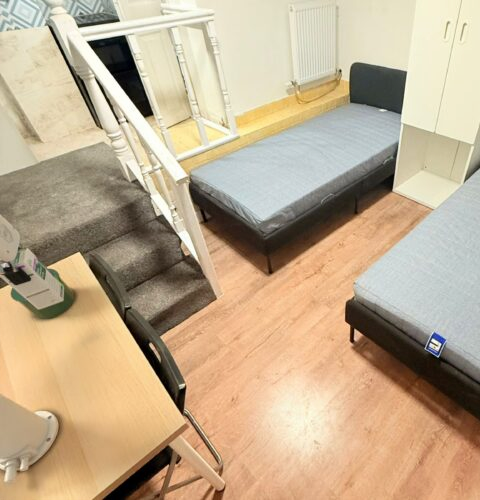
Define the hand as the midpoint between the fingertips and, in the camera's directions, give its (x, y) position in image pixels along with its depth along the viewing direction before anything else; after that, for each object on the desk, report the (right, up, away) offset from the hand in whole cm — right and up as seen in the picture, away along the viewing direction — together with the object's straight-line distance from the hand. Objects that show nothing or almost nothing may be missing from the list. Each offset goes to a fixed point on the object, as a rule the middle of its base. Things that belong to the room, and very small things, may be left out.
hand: (24, 272), depth 77 cm
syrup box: (0, -7, +7) cm, 10 cm away
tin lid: (-18, -5, +24) cm, 30 cm away
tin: (-17, -12, +31) cm, 37 cm away
